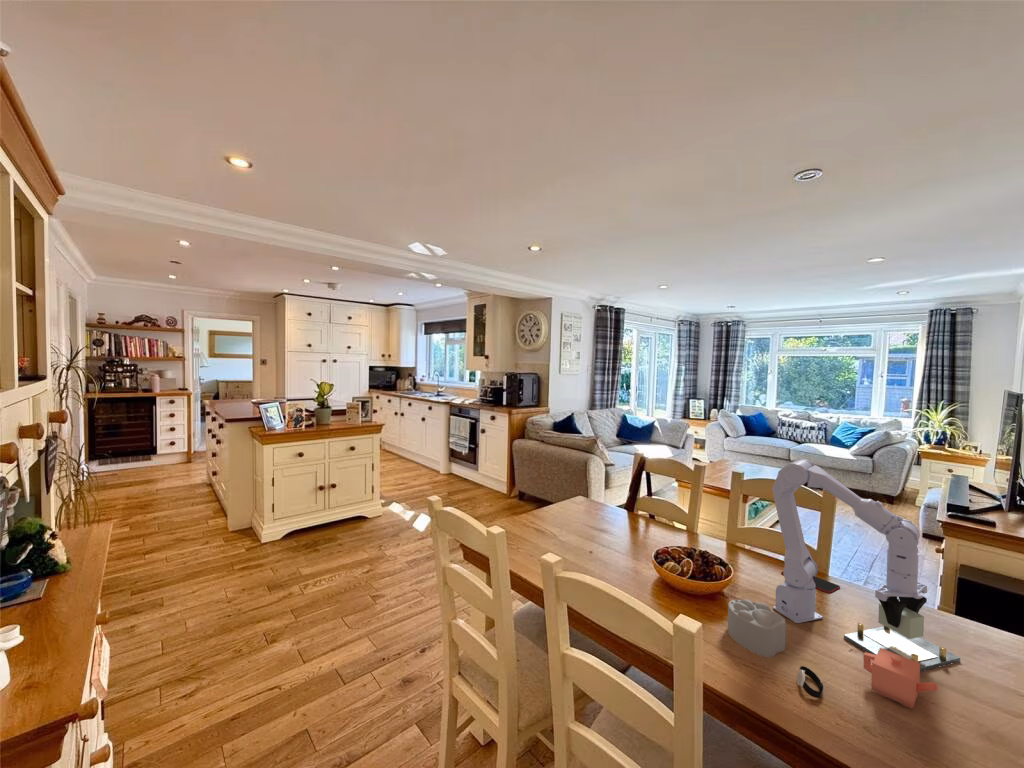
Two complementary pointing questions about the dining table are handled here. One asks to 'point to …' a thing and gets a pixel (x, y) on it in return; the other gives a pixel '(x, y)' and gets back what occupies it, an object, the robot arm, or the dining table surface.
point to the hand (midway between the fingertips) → (900, 623)
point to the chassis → (901, 646)
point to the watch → (802, 683)
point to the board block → (905, 623)
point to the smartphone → (824, 585)
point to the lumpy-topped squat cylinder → (756, 627)
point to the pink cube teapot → (896, 677)
